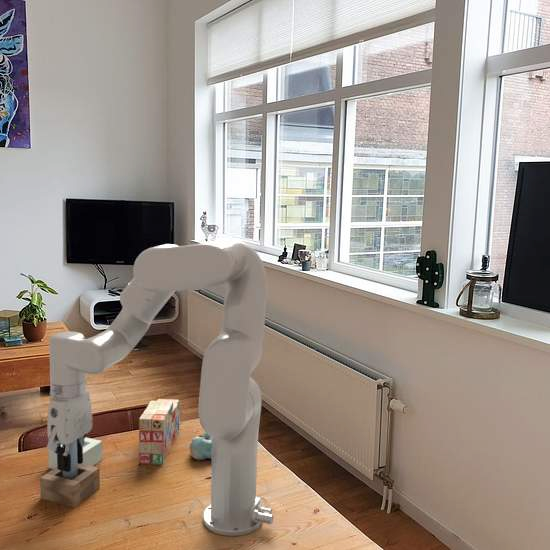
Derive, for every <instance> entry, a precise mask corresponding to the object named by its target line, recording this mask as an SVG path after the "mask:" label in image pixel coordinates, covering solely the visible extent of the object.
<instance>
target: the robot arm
mask: <svg viewBox="0 0 550 550" xmlns="http://www.w3.org/2000/svg"><path fill="white" fill-rule="evenodd" d="M132 273H133V278H132V279H131V280H130V282H128V283H127V285H126V286H125V288H124V289H123V290H122V291H121V293H120V295H119V302H120V304H121V308H122V309H121V311H120V312H119V314H117V316H116V318H115V319H114V320H113V321H112V322H111V323H110V325H109V326H108V328H106V330H103V331H102V332H100V333H98V334H95V335H93V336H91V337H88V338H86V337H85V335H84V334H83V333H82V332H77V331H62V332H58V333H55V334H53V335H51V337H50V338H49V344H48V348H49V349H48V350H49V351H48V352H49V378H50V379H49V385H50V386H49V387H50V390H49V395H50V398H49V402H48V403H49V404H48V410H47V424H46V425H47V426H46V427H47V439H48V442H47V445H46V450H47V451H49V450H51V451H54V452H55V454H57V468H58V470H61V471H65V472H69V471H71V455H70V454H68V453H69V444H70V443H72V442H73V441H75V440H77V461H78V464H81V463H83V447H82V446H83V445H84V443H85V442H84V439H85V437H86V438H87V434H88V433H90V431H92V429H93V411H92V408H93V407H92V402H91V396H90V392H89V390H88V388H87V386H88V385H87V374H88V375H98V374H101V373H103V372H105V371H106V370H108V369H109V368H111V367H112V366H114V365H116V364H117V363H119V362H120V361H122V360H124V359H125V358H126V357H127V356H128V355H129V354H130V352H132V351H133V349H135V347H136V346H137V345H138V343H139V342H140V341H141V340H142V339H143V338H144V336H145V334H146V333H147V332H148V330H149V328H150V326H151V325H152V323H153V321H154V319H155V317H156V316H157V315H158V313H159V312H160V311H161V310H162V308H164V306H165V304H167V302H169V299H171V297H172V296H173V295H174V294H175V292H180V291H193V290H202V289H203V290H205V289H211V288H216V287H219V286H222V285H224V284H225V285H226V291H225V296H224V301H223V307H222V320H221V321H222V322H221V326H220V327H221V328H220V332H219V334H218V336H217V337H216V338H215V339H213V341H211V342H210V344H209V345H208V346H207V348H206V350H205V351H204V355H203V359H202V365H201V372H200V384H199V396H198V419H199V422H200V425H201V428H202V429H203V431H204V433H205V432H206V433H207V434H208V435H209V436H211V438H212V459H211V469H210V470H211V473H210V474H211V479H210V482H211V483H210V484H211V485H210V486H211V487H210V505H209V506H207V507H206V508H205V510H204V511H203V513H202V514H203V517H202V520H203V524H204V526H205V527H206V528H207V529H209V530H210V531H212V532H213V533H215V534H219V535H222V536H229V537H234V536H235V537H236V536H243V535H247V534H250V533H251V532H254V531H255V530H257V529H258V528H259V527H260V526H261V524H268V525H272V524H273V523H274V522H273V521H274V514H272V512H273V510H272V508H271V507H263V505H261V497H257V476H258V475H257V473H258V472H257V471H258V467H257V466H258V450H259V447H258V446H259V445H258V444H259V430H260V429H259V428H260V421H261V420H260V419H261V412H262V392H261V389H260V386H259V385H258V383H257V382H256V380H254V379H253V378H252V376H251V374H252V372H253V371H254V370H255V369H256V368H257V366H258V365H259V364H260V361H261V360H262V356H263V350H264V349H263V344H264V331H265V324H266V321H265V320H266V308H267V307H266V305H267V297H268V296H267V295H268V279H267V278H268V277H267V271H266V268H265V265H264V262H263V260H262V259H261V257H260V255H259V254H258V253H257V251H256V250H254V249H253V248H252V247H251V246H250V244H247V243H245V242H244V241H242V240H240V239H238V238H234V237H233V238H232V237H222V238H221V237H219V238H217V239H214V240H211V241H207V242H202V243H195V244H189V245H188V244H187V245H178V244H175V243H174V244H173V243H172V244H171V243H164V244H161V245H156V246H153V247H149V248H147V249H145V250H143V251H141V253H139V255H138V256H137V257H136V259H135V260H134V264H133V269H132ZM61 444H63V445H64V446H63V448H62V447H61Z"/></svg>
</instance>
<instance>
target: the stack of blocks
mask: <svg viewBox="0 0 550 550" xmlns="http://www.w3.org/2000/svg"><path fill="white" fill-rule="evenodd" d="M138 424H139V426H138V429H139V431H138V433H139V435H138V442H139V453H138V457H139V458H138V459H139V460H138V464H141V465H159V466H162V465H164V464H165V462H166V460H167V458H168V456H169V454H170V452H171V449H172V447H173V445H174V444H173V443H174V441H175V439H176V438H177V436H178V434H179V432H178V431H180V400H179V399H171V398H169V399H167V398H158V399H157V400H150V401H149V403H148V405H147V406H146V408H145V409H144V411H143V413H142V414H141V415H140V417H139V419H138ZM172 444H173V445H172Z"/></svg>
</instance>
